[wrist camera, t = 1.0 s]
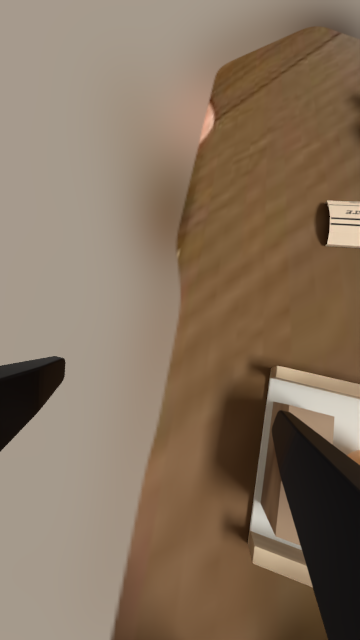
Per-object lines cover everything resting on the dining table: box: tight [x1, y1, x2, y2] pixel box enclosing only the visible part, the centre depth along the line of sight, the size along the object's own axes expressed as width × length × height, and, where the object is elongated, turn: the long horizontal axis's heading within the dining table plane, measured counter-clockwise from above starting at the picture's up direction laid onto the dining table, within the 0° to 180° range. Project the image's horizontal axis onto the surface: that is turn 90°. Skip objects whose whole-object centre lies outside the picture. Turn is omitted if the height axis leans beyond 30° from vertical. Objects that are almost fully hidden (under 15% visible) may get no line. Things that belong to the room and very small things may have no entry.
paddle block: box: [261, 402, 334, 546], centre depth 16 cm, size 8×3×4 cm, turn 166°
